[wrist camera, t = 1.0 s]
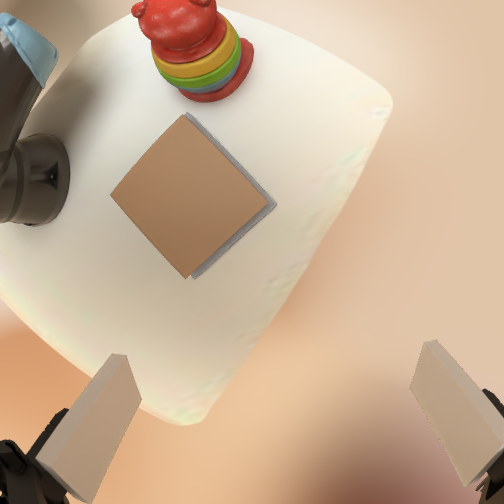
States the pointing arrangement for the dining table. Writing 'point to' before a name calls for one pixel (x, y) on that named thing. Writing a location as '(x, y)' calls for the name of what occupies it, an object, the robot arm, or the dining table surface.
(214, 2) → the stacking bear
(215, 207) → the board
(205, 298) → the dining table surface
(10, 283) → the dining table surface
